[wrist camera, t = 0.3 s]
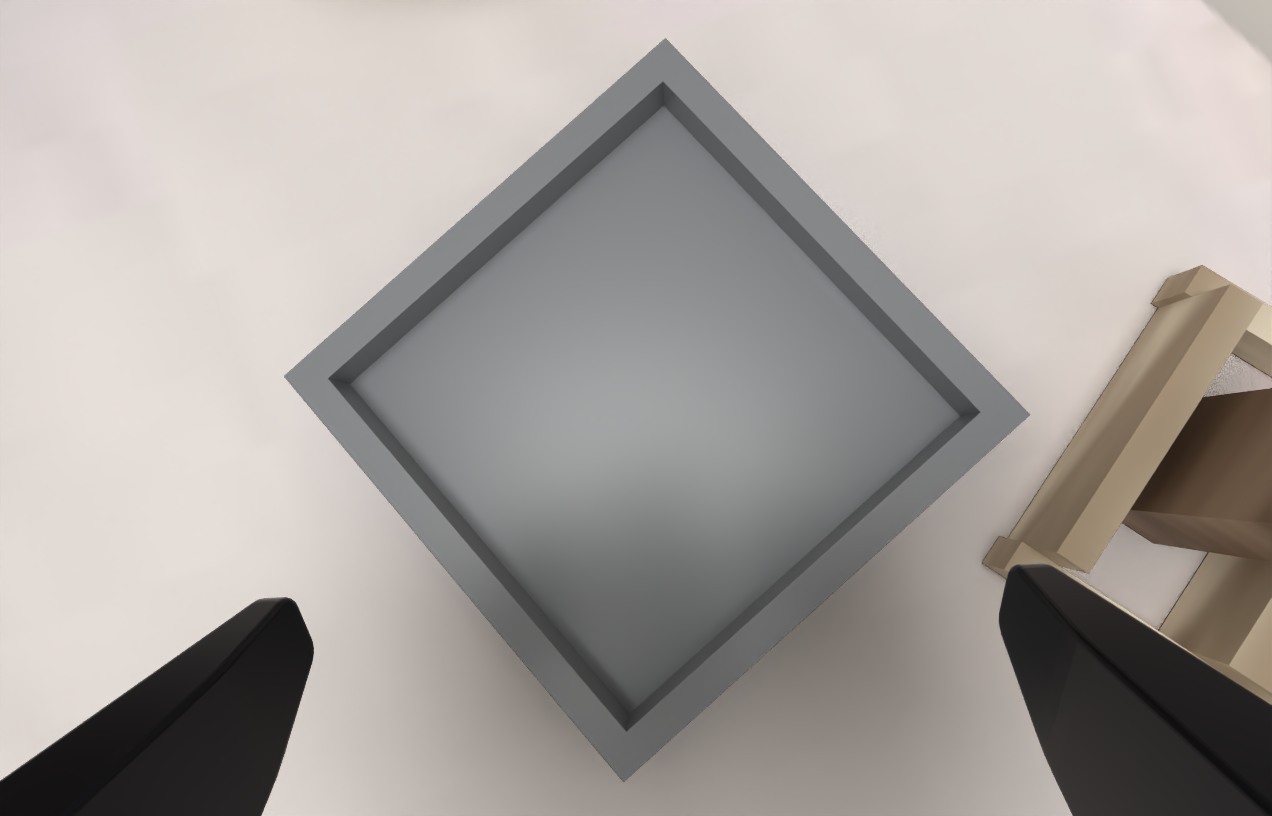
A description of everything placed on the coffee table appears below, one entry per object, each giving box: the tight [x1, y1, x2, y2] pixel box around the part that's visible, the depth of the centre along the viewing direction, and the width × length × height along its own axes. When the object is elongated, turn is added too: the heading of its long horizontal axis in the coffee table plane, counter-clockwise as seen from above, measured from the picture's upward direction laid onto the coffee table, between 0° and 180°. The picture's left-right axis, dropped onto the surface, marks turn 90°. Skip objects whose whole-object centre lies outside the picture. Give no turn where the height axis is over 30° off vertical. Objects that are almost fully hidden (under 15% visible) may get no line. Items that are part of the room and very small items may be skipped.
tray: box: [284, 38, 1030, 782], centre depth 23 cm, size 16×16×2 cm
